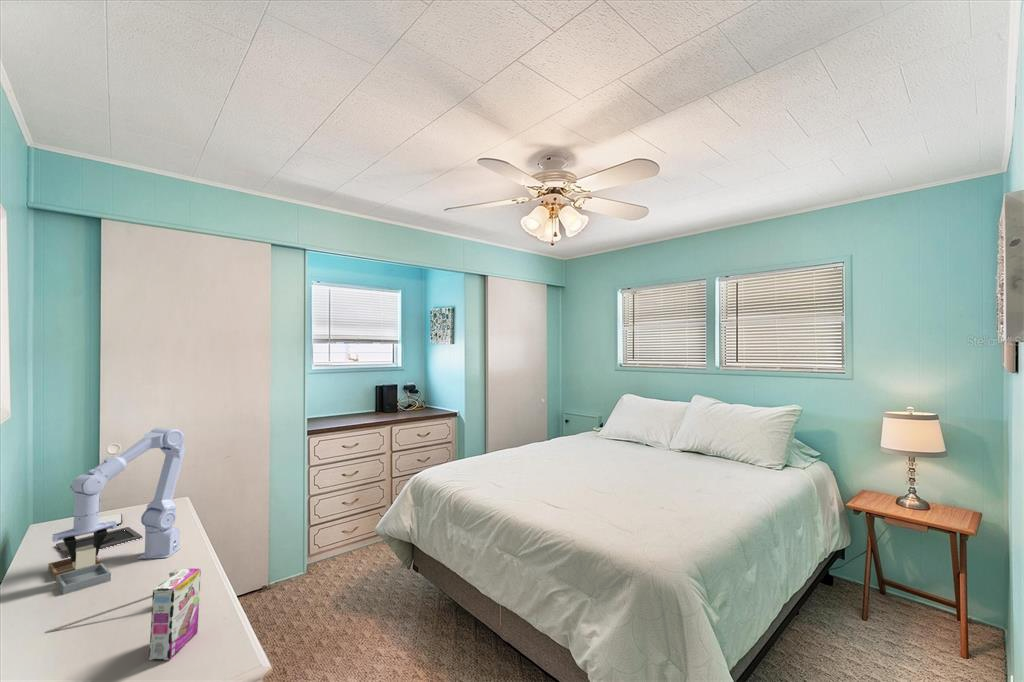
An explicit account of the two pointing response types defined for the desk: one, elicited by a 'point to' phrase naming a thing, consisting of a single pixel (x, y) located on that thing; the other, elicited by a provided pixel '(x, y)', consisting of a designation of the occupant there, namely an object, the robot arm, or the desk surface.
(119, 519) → the phone case
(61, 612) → the desk surface
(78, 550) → the sandstone block
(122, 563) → the desk surface
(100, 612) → the brush
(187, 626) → the candy bar box
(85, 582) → the grey tray
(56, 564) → the walnut tray
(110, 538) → the picture frame
